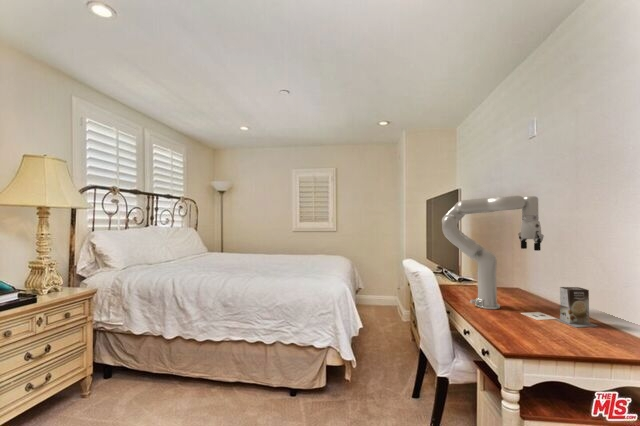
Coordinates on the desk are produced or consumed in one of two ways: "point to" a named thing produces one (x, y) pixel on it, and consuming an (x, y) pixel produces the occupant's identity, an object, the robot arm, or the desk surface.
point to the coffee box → (574, 305)
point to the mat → (578, 324)
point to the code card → (538, 316)
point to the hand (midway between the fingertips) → (530, 249)
